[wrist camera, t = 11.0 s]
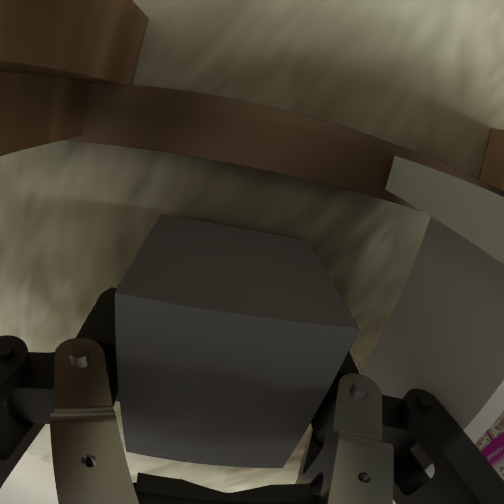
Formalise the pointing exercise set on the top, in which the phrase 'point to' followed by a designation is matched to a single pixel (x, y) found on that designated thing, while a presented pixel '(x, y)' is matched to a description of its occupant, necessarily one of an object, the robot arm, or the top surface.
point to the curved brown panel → (172, 105)
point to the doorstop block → (225, 343)
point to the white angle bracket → (448, 303)
